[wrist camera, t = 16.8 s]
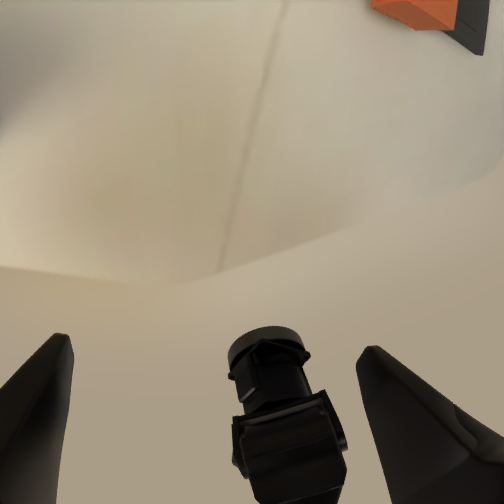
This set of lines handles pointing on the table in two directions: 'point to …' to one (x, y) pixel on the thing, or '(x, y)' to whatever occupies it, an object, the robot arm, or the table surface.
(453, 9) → the orange box
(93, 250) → the table surface
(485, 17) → the dark grey flat panel
